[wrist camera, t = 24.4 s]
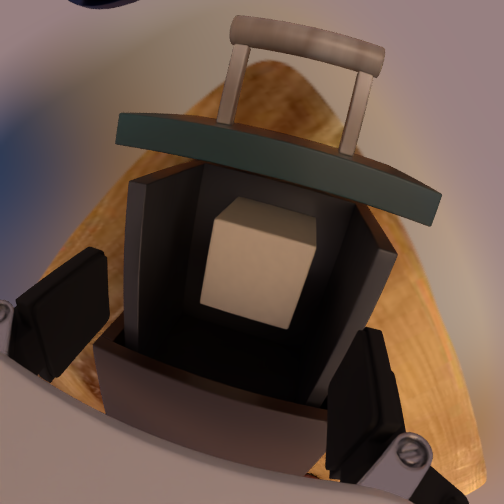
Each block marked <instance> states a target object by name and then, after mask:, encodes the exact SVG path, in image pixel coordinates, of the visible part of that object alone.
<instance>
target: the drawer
mask: <svg viewBox="0 0 504 504" xmlns="http://www.w3.org/2000/svg"><path fill="white" fill-rule="evenodd" d="M230 42H231V44H232V45H234V47H233V51H232V55H231V60H230V63H229V67H228V72H227V76H226V80H225V84H224V89H223V93H222V98H221V102H220V107H219V111H218V116H217V119H213V118H207V117H201V116H194V115H178V114H158V113H120V114H119V120H118V127H117V134H116V141H115V144H117V145H123V146H129V147H135V148H141V149H146V150H152V151H157V152H162V153H168V154H173V155H178V156H183V157H188V158H193V159H196V160H193V161H189V162H186V163H183V164H179V165H176V166H173V167H170V168H167V169H163V170H160V171H157V172H154V173H151V174H148V175H145V176H142V177H139V178H137V179H134V180H131V181H129V187H128V197H127V210H126V225H125V244H124V331H125V347H126V348H128V349H131V350H133V351H135V352H138V353H140V354H143V355H145V356H147V357H150V358H152V359H155V360H158V361H160V362H163V363H165V364H168V365H171V366H173V367H176V368H179V369H182V370H184V371H187V372H190V373H193V374H196V375H199V376H202V377H205V378H208V379H211V380H214V381H217V382H220V383H223V384H226V385H230V386H233V387H236V388H240V389H243V390H247V391H250V392H254V393H257V394H261V395H265V396H268V397H272V398H276V399H280V400H284V401H288V402H293V403H297V404H301V405H306V406H311V407H315V408H320V406H321V404H322V403H323V401H324V400H325V398H326V396H327V395H328V386H329V383H330V381H331V379H332V377H333V376H334V374H335V372H336V370H337V369H338V367H339V365H340V363H341V361H342V360H343V358H344V356H345V354H346V352H347V350H348V348H349V347H350V345H351V343H352V341H353V339H354V337H355V335H356V333H357V331H358V330H363V329H364V328H365V326H366V324H367V322H368V320H369V318H370V316H371V314H372V312H373V310H374V308H375V306H376V303H377V301H378V299H379V297H380V295H381V293H382V290H383V288H384V286H385V284H386V282H387V279H388V277H389V275H390V272H391V270H392V268H393V265H394V263H395V261H396V258H397V256H398V254H397V252H396V251H395V249H394V247H393V246H392V244H391V242H390V241H389V239H388V237H387V236H386V234H385V233H384V231H383V230H382V228H381V226H380V225H379V223H378V222H377V220H376V219H375V217H374V216H373V214H372V213H371V211H370V210H369V208H368V206H367V205H369V206H372V207H375V208H378V209H381V210H384V211H387V212H390V213H393V214H396V215H398V216H401V217H404V218H407V219H410V220H413V221H415V222H418V223H421V224H423V225H426V226H431V225H432V222H433V220H434V217H435V214H436V211H437V209H438V206H439V203H440V200H441V197H442V194H441V193H439V192H437V191H436V190H434V189H432V188H431V187H429V186H427V185H425V184H423V183H422V182H420V181H418V180H416V179H414V178H412V177H410V176H408V175H407V174H405V173H403V172H401V171H399V170H397V169H395V168H393V167H391V166H389V165H386V164H383V163H381V162H377V161H375V160H372V159H369V158H366V157H363V156H360V155H357V154H354V152H355V148H356V145H357V141H358V137H359V133H360V130H361V126H362V122H363V118H364V114H365V110H366V106H367V102H368V97H369V94H370V89H371V84H372V81H373V77H375V78H377V77H378V76H379V73H380V71H381V69H382V66H383V62H384V57H385V49H384V48H383V47H380V46H378V45H374V44H372V43H369V42H365V41H362V40H359V39H356V38H352V37H349V36H346V35H342V34H338V33H334V32H330V31H327V30H323V29H318V28H314V27H309V26H305V25H300V24H295V23H290V22H284V21H278V20H272V19H265V18H258V17H249V16H240V15H237V16H235V18H234V19H233V21H232V24H231V28H230ZM250 47H252V48H258V49H265V50H270V51H276V52H281V53H286V54H291V55H296V56H300V57H305V58H309V59H313V60H317V61H321V62H325V63H329V64H332V65H336V66H340V67H343V68H346V69H350V70H353V71H356V72H358V74H357V77H356V81H355V86H354V90H353V94H352V98H351V102H350V106H349V110H348V114H347V118H346V122H345V126H344V130H343V133H342V137H341V141H340V145H339V149H338V148H335V147H331V146H328V145H324V144H321V143H317V142H314V141H310V140H307V139H303V138H299V137H295V136H291V135H287V134H283V133H279V132H275V131H271V130H267V129H262V128H258V127H253V126H249V125H244V124H239V123H234V118H235V114H236V109H237V105H238V100H239V96H240V92H241V87H242V83H243V79H244V75H245V71H246V66H247V62H248V58H249V54H250V50H251V49H250ZM237 197H243V198H247V199H251V200H254V201H258V202H262V203H265V204H269V205H273V206H276V207H280V208H283V209H287V210H291V211H294V212H298V213H301V214H304V215H308V216H311V217H315V218H316V251H315V254H314V257H313V260H312V263H311V266H310V269H309V272H308V275H307V278H306V280H305V283H304V286H303V289H302V292H301V295H300V297H299V300H298V303H297V306H296V309H295V311H294V314H293V317H292V320H291V322H290V325H289V328H288V329H283V328H280V327H276V326H273V325H269V324H266V323H262V322H259V321H255V320H252V319H249V318H245V317H242V316H239V315H235V314H232V313H229V312H226V311H222V310H219V309H216V308H213V307H210V306H207V305H204V304H201V303H200V298H201V292H202V286H203V280H204V274H205V268H206V262H207V256H208V251H209V245H210V240H211V234H212V229H213V224H214V219H215V218H216V217H217V216H218V215H219V214H220V213H221V212H222V211H223V210H224V209H226V208H227V207H228V206H229V205H230V204H231V203H232V202H233V201H234V200H235V199H236V198H237Z"/></svg>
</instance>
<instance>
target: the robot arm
mask: <svg viewBox="0 0 504 504" xmlns="http://www.w3.org/2000/svg"><path fill="white" fill-rule="evenodd" d="M16 304H17V306H16V307H15V308H13V306H12V304H11V303H10V302H8V301H6V300H0V504H469V502H468V500H467V498H466V496H465V495H464V494H463V493H462V492H461V491H459V490H458V489H457V488H456V487H455V486H454V485H452V484H451V483H450V482H449V481H448V480H447V479H445V478H444V477H443V476H442V475H441V474H440V473H438V472H437V471H436V470H435V469H434V468H433V467H431V466H430V465H431V462H432V459H433V452H432V449H431V446H430V445H429V443H428V442H427V441H426V440H425V439H424V438H423V437H422V436H420V435H418V434H416V433H412V432H406V430H405V424H404V419H403V413H402V408H401V403H400V398H399V393H398V388H397V384H396V379H395V375H394V373H393V372H392V371H391V367H390V363H389V358H388V354H387V350H386V346H385V342H384V338H383V334H382V331H381V330H377V329H373V328H369V327H365V328H364V329H363V330H358V331H357V333H356V335H355V337H354V339H353V341H352V343H351V345H350V347H349V348H348V350H347V352H346V354H345V356H344V358H343V360H342V361H341V363H340V365H339V367H338V369H337V370H336V372H335V374H334V376H333V377H332V379H331V381H330V383H329V386H328V405H327V441H326V463H325V467H326V470H330V475H329V479H339V480H340V482H335V481H328V480H321V479H314V478H307V477H301V476H295V475H290V474H285V473H280V472H275V471H270V470H265V469H260V468H256V467H252V466H247V465H243V464H239V463H235V462H232V461H228V460H224V459H221V458H217V457H214V456H211V455H207V454H204V453H201V452H198V451H195V450H192V449H189V448H186V447H183V446H180V445H177V444H174V443H172V442H169V441H166V440H164V439H161V438H158V437H156V436H153V435H151V434H148V433H146V432H143V431H141V430H139V429H136V428H134V427H132V426H129V425H127V424H125V423H123V422H121V421H118V420H116V419H114V418H112V417H110V416H108V415H106V414H104V413H102V412H100V411H98V410H96V409H94V408H92V407H90V406H88V405H86V404H84V403H82V402H80V401H79V400H77V399H75V398H73V397H71V396H70V395H68V394H66V393H64V392H63V391H61V390H59V389H58V388H56V387H54V386H53V385H51V384H49V383H51V382H52V380H53V379H54V378H55V377H56V378H58V377H59V376H60V375H61V374H62V373H63V372H64V371H65V370H66V368H67V367H68V366H69V365H70V364H71V362H72V361H73V360H74V359H75V358H76V357H77V355H78V354H79V353H80V352H81V351H82V350H83V349H84V347H85V346H86V345H87V344H88V343H89V342H90V341H91V339H92V338H93V337H94V336H95V335H96V334H97V333H98V332H99V330H100V329H101V328H102V327H103V326H104V325H105V324H106V323H107V321H108V319H109V315H110V311H109V295H108V270H107V257H106V256H105V255H104V252H103V251H102V250H99V249H96V248H93V247H87V248H86V249H84V250H83V251H81V252H80V253H78V254H77V255H75V256H74V257H73V258H71V259H70V260H68V261H67V262H65V263H64V264H63V265H61V266H60V267H58V268H57V269H56V270H54V271H53V272H51V273H50V274H49V275H47V276H46V277H45V278H43V279H42V280H41V281H39V282H38V283H37V284H35V285H34V286H33V287H31V288H30V289H29V290H27V291H26V292H25V293H23V294H22V295H21V296H20V297H18V298H17V299H16ZM38 374H39V376H40V377H42V378H43V379H45V380H46V381H48V382H49V383H48V382H46V381H44V380H43V379H41V378H40V377H38V376H37V375H38Z"/></svg>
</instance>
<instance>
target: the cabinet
mask: <svg viewBox="0 0 504 504" xmlns="http://www.w3.org/2000/svg"><path fill="white" fill-rule="evenodd" d="M93 351H94V357H95V363H96V369H97V375H98V380H99V385H100V390H101V395H102V399H103V404H104V408H105V412H106V415H108V416H110V417H112V418H114V419H116V420H118V421H121V422H123V423H125V424H127V425H129V426H132V427H134V428H136V429H139V430H141V431H143V432H146V433H148V434H151V435H153V436H156V437H158V438H161V439H164V440H166V441H169V442H172V443H174V444H177V445H180V446H183V447H186V448H189V449H192V450H195V451H198V452H201V453H204V454H207V455H211V456H214V457H217V458H221V459H224V460H228V461H232V462H235V463H239V464H243V465H247V466H252V467H256V468H260V469H265V470H270V471H275V472H280V473H285V474H290V475H295V476H301V477H303V476H304V475H305V474H306V473H307V472H308V471H309V470H310V469H311V468H312V467H313V466H314V465H315V463H316V462H317V461H318V460H319V459H320V458H321V457H322V456H323V454H324V453H325V452H326V441H327V405H328V395H327V396H326V398H325V400H324V401H323V403H322V404H321V406H320V408H315V407H311V406H306V405H301V404H297V403H293V402H288V401H284V400H280V399H276V398H272V397H268V396H265V395H261V394H257V393H254V392H250V391H247V390H243V389H240V388H236V387H233V386H230V385H226V384H223V383H220V382H217V381H214V380H211V379H208V378H205V377H202V376H199V375H196V374H193V373H190V372H187V371H184V370H182V369H179V368H176V367H173V366H171V365H168V364H165V363H163V362H160V361H158V360H155V359H152V358H150V357H147V356H145V355H143V354H140V353H138V352H135V351H133V350H131V349H128V348H126V347H125V331H124V311H123V312H122V313H121V314H120V315H119V316H118V318H117V319H116V320H115V321H114V322H113V323H112V324H111V325H110V326H109V327H108V328H107V329H106V330H105V331H104V333H103V334H102V335H101V336H100V337H99V338H98V339H97V340H96V341H95V342H94V344H93Z"/></svg>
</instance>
